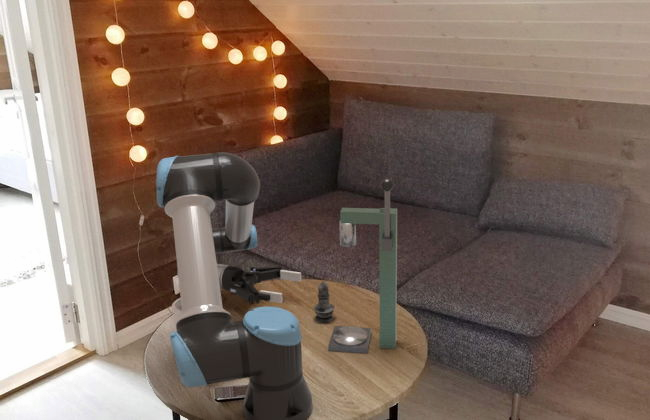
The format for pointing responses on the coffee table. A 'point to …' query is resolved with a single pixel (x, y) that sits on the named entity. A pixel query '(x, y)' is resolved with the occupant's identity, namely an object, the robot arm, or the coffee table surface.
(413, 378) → the coffee table surface
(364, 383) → the coffee table surface
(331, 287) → the coffee table surface
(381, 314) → the arbor press
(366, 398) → the coffee table surface
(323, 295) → the dark chess piece
